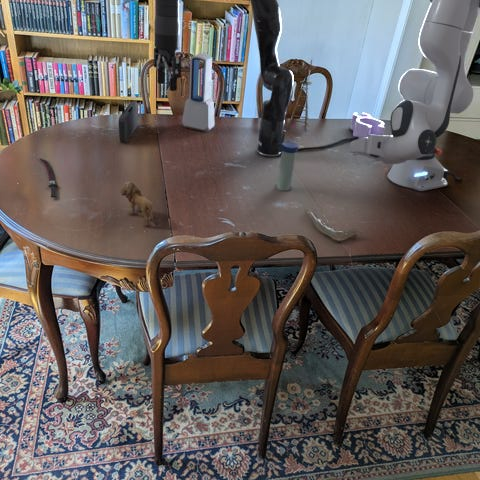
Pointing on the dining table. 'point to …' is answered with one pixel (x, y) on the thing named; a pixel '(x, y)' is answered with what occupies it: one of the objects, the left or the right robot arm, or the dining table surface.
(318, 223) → the jawbone
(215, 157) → the dining table surface
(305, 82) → the miniature windmill
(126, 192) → the lion figurine
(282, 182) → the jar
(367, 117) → the lavender notched block
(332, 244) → the dining table surface
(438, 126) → the right robot arm
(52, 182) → the sword
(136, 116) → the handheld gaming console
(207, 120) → the electronic device
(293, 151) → the lid
